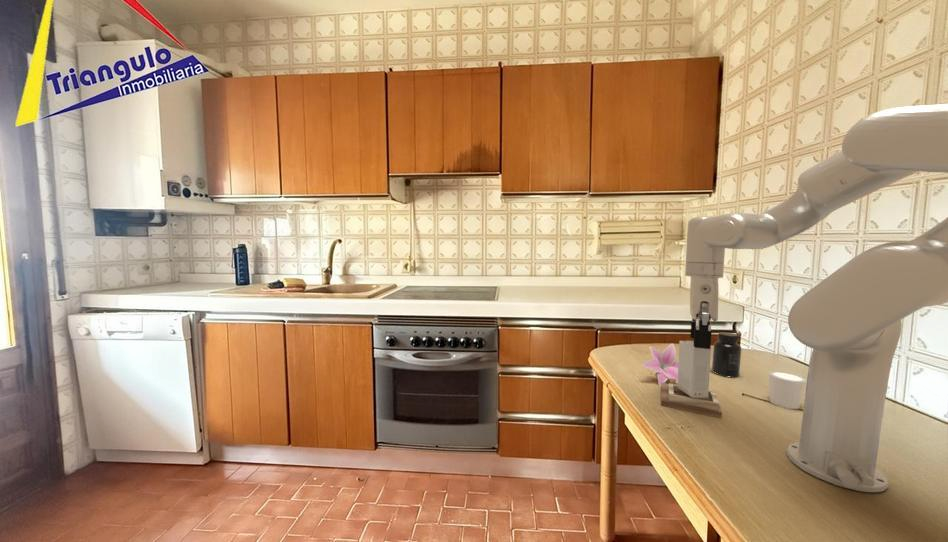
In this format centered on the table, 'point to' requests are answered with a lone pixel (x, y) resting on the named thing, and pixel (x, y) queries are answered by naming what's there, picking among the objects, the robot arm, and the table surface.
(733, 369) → the supplement bottle
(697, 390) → the skincare box
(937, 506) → the table surface
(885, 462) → the table surface
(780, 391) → the white cylinder
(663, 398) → the square wooden tray
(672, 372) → the lily
